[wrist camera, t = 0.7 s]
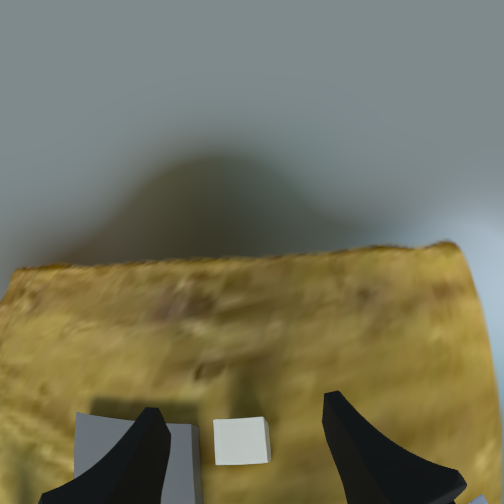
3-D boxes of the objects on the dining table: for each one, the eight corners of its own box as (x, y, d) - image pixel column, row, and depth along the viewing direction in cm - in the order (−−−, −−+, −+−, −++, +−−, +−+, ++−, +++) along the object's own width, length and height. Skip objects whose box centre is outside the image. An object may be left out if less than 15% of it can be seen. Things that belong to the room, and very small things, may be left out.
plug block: (271, 460, 21) (267, 462, 17) (230, 462, 21) (215, 464, 17) (268, 423, 24) (263, 416, 19) (227, 426, 24) (213, 419, 19)
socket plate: (210, 570, 12) (204, 578, 10) (93, 543, 13) (81, 545, 11) (198, 426, 24) (191, 424, 22) (88, 416, 25) (76, 412, 23)
